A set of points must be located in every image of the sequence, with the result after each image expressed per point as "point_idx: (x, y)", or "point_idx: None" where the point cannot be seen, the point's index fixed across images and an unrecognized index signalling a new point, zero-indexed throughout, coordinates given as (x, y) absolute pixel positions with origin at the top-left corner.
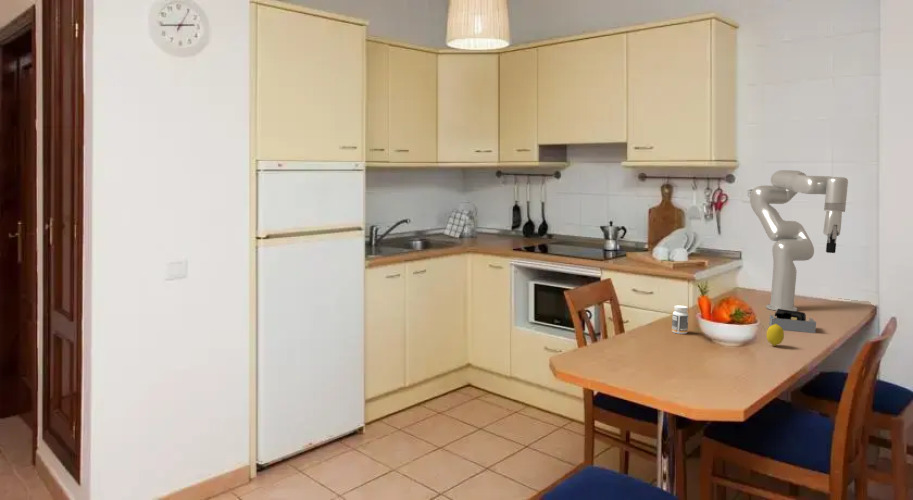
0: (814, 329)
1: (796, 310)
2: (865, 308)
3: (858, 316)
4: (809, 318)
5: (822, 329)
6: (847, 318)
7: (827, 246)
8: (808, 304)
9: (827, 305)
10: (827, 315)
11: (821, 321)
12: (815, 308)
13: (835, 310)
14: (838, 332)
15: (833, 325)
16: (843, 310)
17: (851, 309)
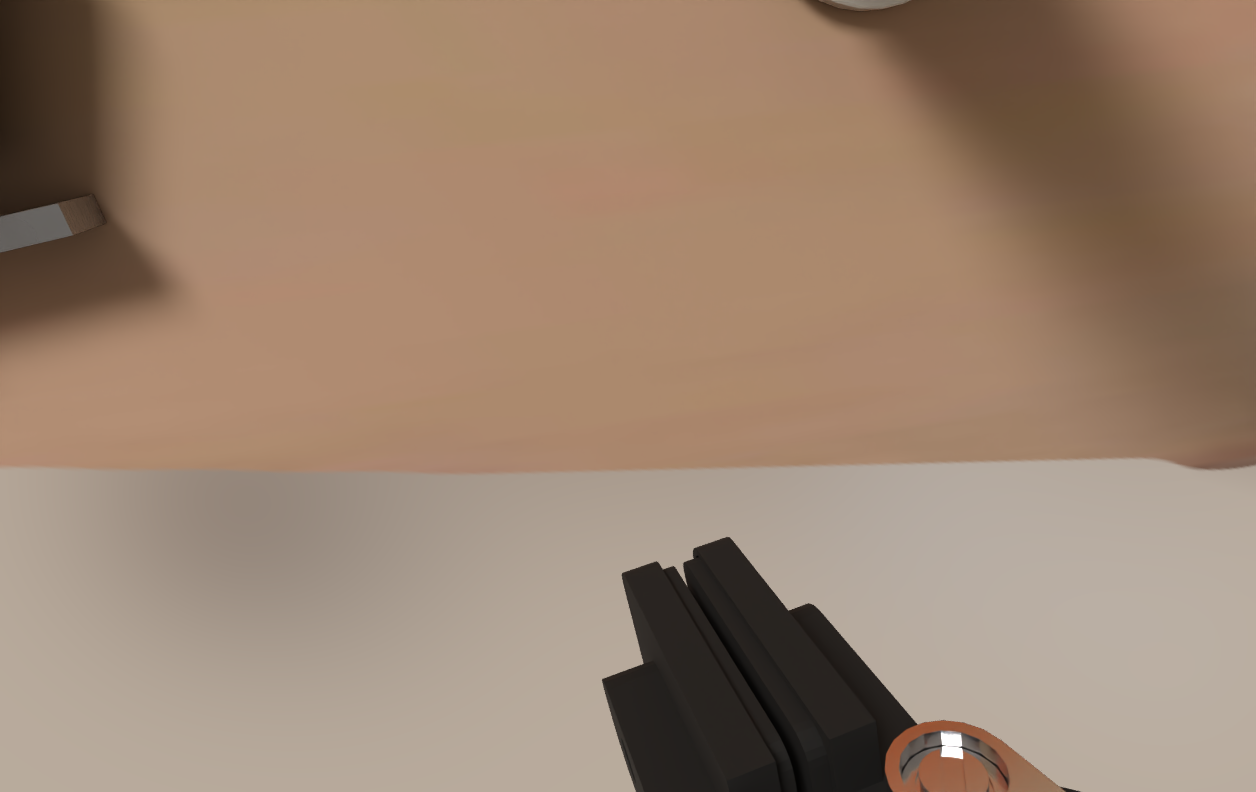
0: None
1: (839, 7)
2: (1210, 433)
3: (907, 443)
4: (48, 207)
5: (129, 310)
6: (785, 397)
7: (682, 689)
8: (1201, 72)
9: (1217, 208)
10: (816, 260)
11: (515, 254)
12: (1060, 142)
13: (1051, 283)
14: (112, 435)
15: (408, 358)
16: (1077, 330)
17: (1138, 368)
